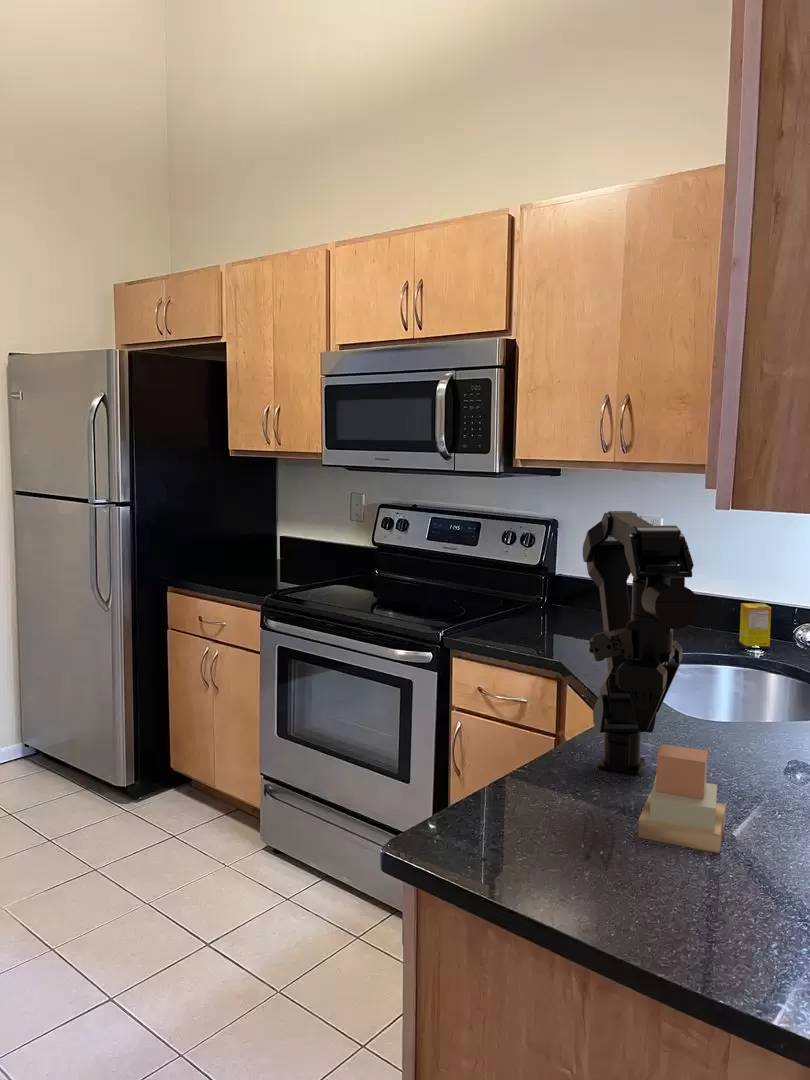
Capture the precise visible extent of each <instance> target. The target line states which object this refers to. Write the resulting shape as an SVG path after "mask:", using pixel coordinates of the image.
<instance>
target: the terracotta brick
mask: <svg viewBox="0 0 810 1080" xmlns="http://www.w3.org/2000/svg"><path fill="white" fill-rule="evenodd" d="M708 755H709V751H708V750H704V749H699V748H691V747H684V746H675V745H669V744H663V743H662V744H661V745H660V747H659V749H658V752H657V754H656V773H655V774H656V775H655V777H656V791H657V792H663V793H669V794H675V795H681V796H687V797H693V798H699V799H704V795H705V791H706V784H707V783H708V782H707V781H708V780H707V779H708V778H707V777H708Z"/></svg>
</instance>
